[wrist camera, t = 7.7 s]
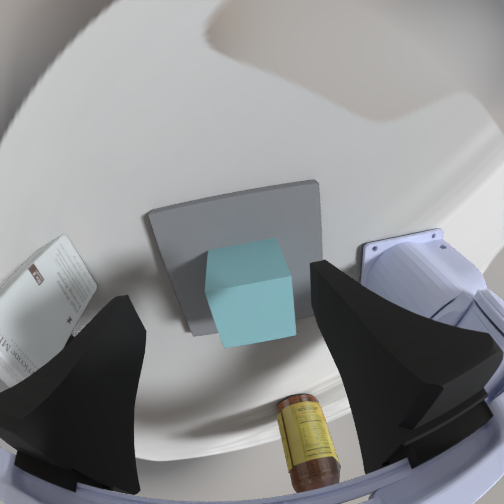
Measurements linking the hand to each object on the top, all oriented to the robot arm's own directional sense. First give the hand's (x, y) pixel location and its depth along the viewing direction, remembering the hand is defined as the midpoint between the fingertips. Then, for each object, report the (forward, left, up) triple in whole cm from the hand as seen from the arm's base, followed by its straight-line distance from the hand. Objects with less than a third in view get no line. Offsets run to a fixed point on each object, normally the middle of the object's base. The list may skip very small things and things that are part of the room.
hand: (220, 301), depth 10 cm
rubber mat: (-1, +5, -10) cm, 12 cm away
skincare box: (+15, +2, -11) cm, 18 cm away
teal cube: (-1, +5, -9) cm, 11 cm away
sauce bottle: (-4, +29, -11) cm, 31 cm away
